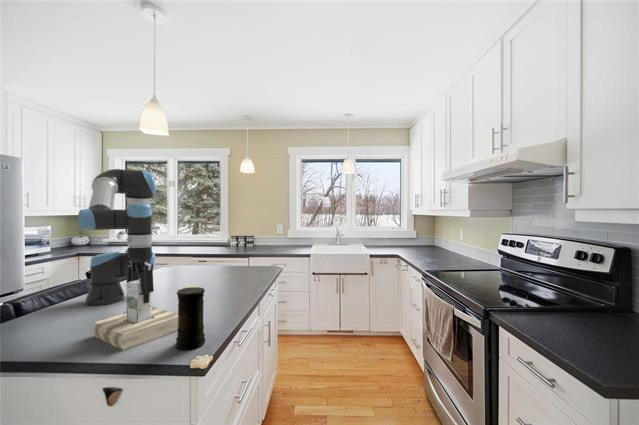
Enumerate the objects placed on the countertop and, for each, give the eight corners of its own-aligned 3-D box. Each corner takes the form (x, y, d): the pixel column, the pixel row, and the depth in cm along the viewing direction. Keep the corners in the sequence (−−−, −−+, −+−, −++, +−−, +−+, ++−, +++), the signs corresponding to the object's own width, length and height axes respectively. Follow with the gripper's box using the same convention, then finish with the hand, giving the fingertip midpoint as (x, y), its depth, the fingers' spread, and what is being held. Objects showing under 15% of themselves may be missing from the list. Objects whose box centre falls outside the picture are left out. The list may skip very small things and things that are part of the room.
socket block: (94, 336, 102) (94, 322, 102) (152, 318, 119) (152, 306, 119) (122, 350, 91) (123, 334, 91) (181, 328, 108) (181, 315, 108)
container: (181, 338, 100) (182, 286, 100) (208, 337, 101) (208, 286, 101) (170, 351, 91) (170, 294, 91) (200, 350, 92) (200, 293, 92)
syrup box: (152, 319, 107) (152, 279, 107) (137, 325, 101) (137, 283, 101) (140, 317, 109) (141, 278, 109) (125, 322, 103) (125, 282, 103)
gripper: (115, 245, 107) (114, 308, 107) (143, 249, 97) (143, 318, 97) (136, 244, 113) (136, 302, 113) (165, 247, 103) (165, 311, 103)
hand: (139, 309), depth 105 cm, fingers closed on syrup box, 6 cm apart
